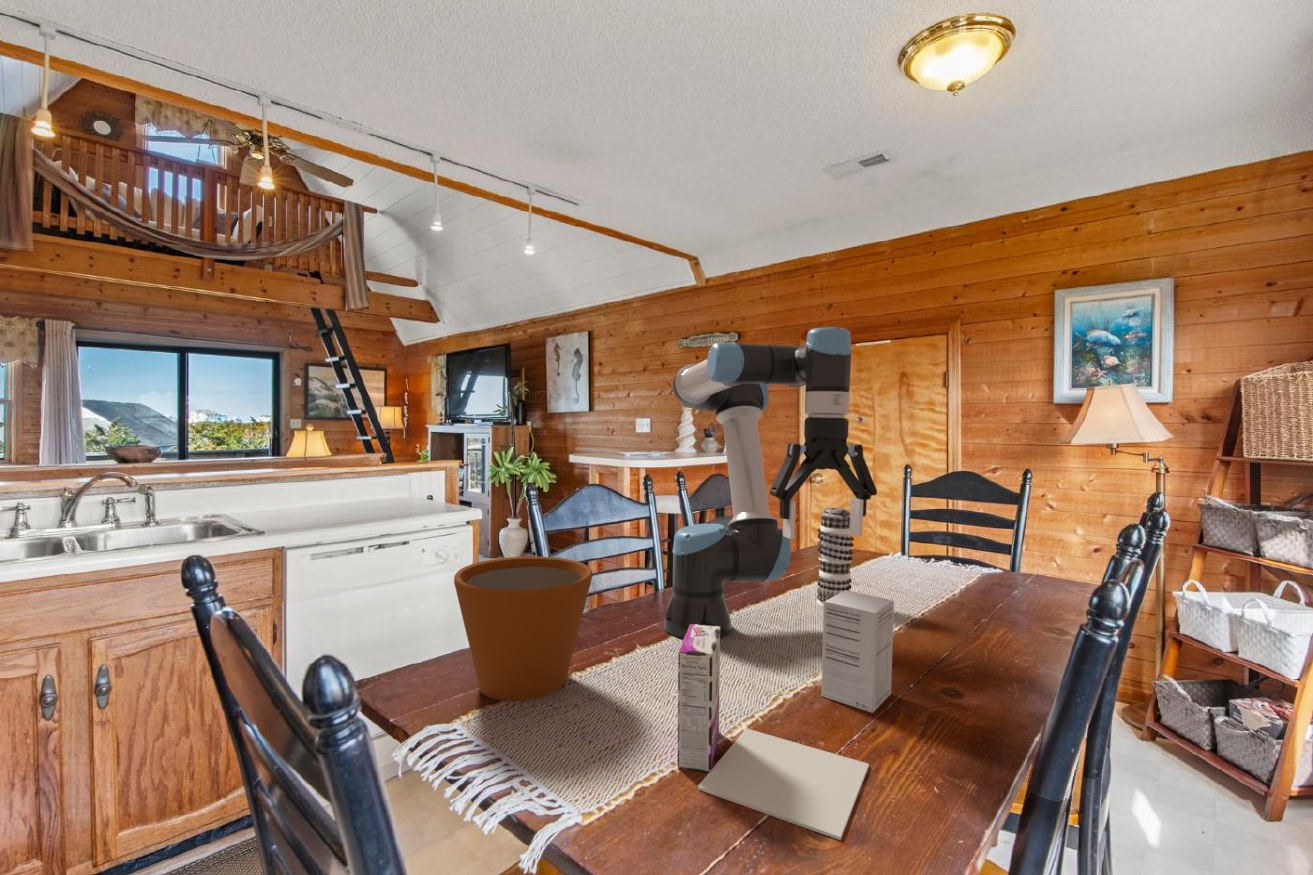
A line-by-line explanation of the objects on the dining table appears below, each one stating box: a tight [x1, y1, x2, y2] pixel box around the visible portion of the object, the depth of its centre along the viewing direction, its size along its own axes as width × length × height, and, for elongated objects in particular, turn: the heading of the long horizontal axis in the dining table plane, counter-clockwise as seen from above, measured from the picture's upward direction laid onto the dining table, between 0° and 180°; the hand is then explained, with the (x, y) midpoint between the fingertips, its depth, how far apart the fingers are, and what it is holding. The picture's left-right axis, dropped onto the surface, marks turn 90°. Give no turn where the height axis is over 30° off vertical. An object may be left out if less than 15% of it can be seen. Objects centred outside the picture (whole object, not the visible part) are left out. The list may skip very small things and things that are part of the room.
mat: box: [697, 727, 870, 841], centre depth 80 cm, size 18×17×1 cm
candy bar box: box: [677, 624, 721, 773], centre depth 86 cm, size 11×5×16 cm, turn 168°
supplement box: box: [820, 590, 895, 714], centre depth 104 cm, size 10×9×17 cm
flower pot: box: [453, 556, 593, 702], centre depth 107 cm, size 24×24×20 cm
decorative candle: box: [816, 507, 855, 607], centre depth 156 cm, size 9×9×25 cm
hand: (822, 536), depth 107 cm, fingers open, 13 cm apart
